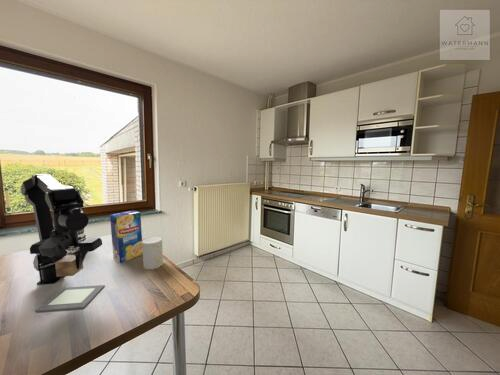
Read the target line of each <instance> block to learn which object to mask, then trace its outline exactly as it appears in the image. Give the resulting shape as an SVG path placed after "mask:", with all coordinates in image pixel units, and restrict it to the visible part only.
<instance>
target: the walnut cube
mask: <svg viewBox="0 0 500 375" xmlns="http://www.w3.org/2000/svg"><path fill="white" fill-rule="evenodd" d="M55 267H56V275H57V277H59V276H64V277H73V276H75V275H76V274H77V273H79V272H80V271H81V270H83V269H84V262H83V263H82V265H81V268H80V269H77V266H76V256H75V255H74V254H70V255H69V254H67V255H66V256H64V257H63V258H61V259H60V260H58V261H56V262H55Z"/></svg>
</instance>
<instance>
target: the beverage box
mask: <svg viewBox="0 0 500 375" xmlns="http://www.w3.org/2000/svg"><path fill="white" fill-rule="evenodd" d="M109 220H110V230H111V231H110V232H111V244H112V256H113V260H115V261H116V262H118V263H124V262H127V261H129V260H132V259H134V257H135V258H138V257H140V256H143V255H142V254H143V249H142V241H143V235H142V232H143V231H142V219H141V212H140V211H138V210H129V211H123V212H118V213H112V214H110V215H109ZM139 255H140V256H139ZM137 256H138V257H137Z"/></svg>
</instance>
